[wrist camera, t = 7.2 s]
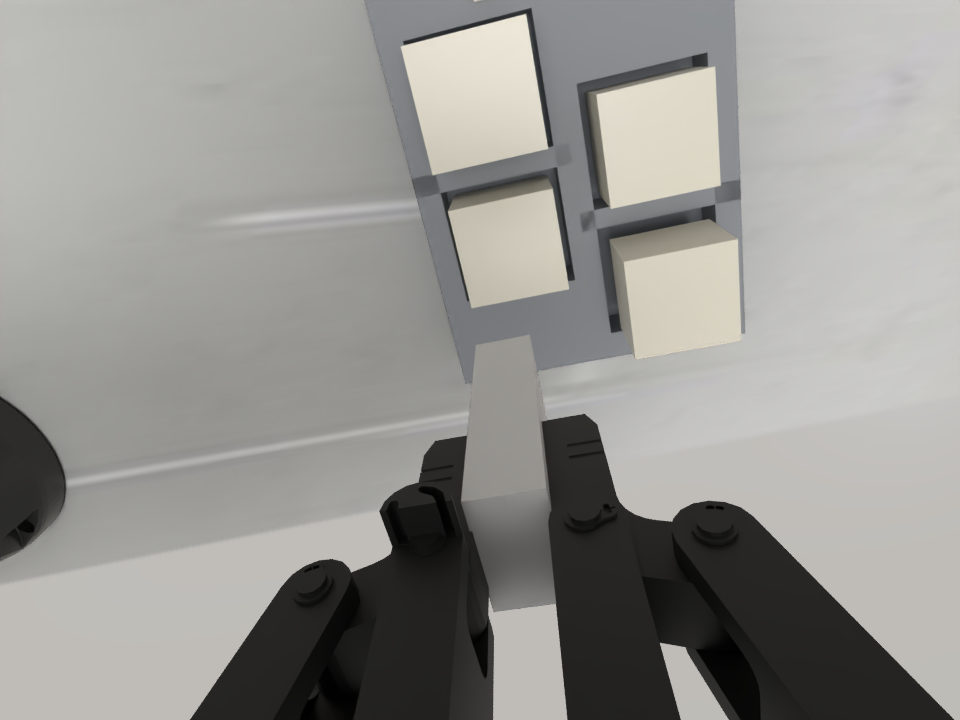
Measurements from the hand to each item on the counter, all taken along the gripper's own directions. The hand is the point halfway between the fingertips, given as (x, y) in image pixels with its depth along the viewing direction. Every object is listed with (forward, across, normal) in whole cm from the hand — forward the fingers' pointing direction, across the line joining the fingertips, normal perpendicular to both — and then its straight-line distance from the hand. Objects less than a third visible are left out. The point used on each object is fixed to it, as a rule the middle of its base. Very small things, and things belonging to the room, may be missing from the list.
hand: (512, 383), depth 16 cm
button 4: (+16, 0, +7) cm, 17 cm away
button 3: (+18, +8, +3) cm, 19 cm away
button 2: (+18, 0, 0) cm, 18 cm away
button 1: (+16, +8, -3) cm, 18 cm away
